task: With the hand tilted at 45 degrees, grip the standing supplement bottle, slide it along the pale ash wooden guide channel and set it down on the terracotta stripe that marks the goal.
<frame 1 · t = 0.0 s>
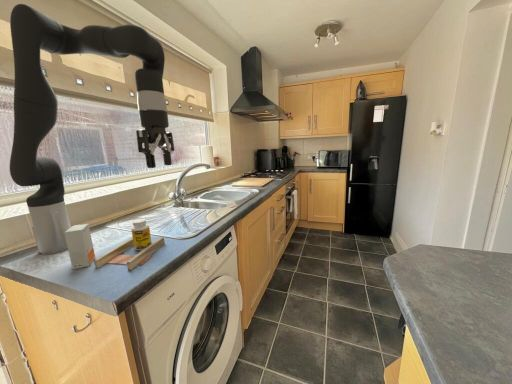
hand: (160, 166, 63), 29 cm above the countertop, tool pointing down, fingers open, 8 cm apart
supplement bottle: (143, 247, 75), on the countertop
skincare box: (85, 263, 66), on the countertop
guide channel: (133, 254, 70), on the countertop
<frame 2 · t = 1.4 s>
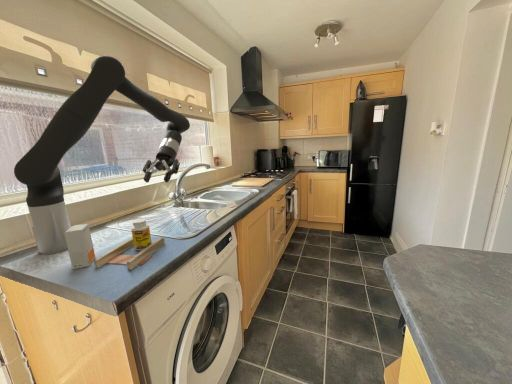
hand: (155, 181, 82), 22 cm above the countertop, tool tilted 45°, fingers open, 8 cm apart
nothing on the countertop moved.
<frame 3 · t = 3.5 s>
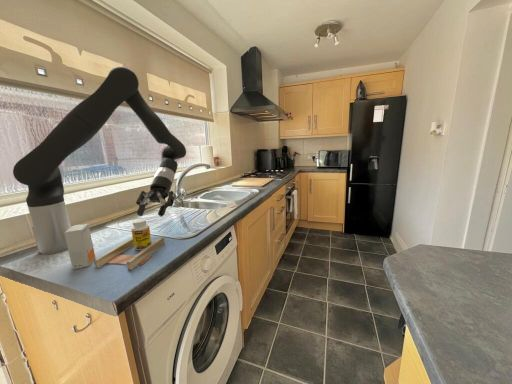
hand: (149, 215, 78), 10 cm above the countertop, tool tilted 45°, fingers open, 8 cm apart
nothing on the countertop moved.
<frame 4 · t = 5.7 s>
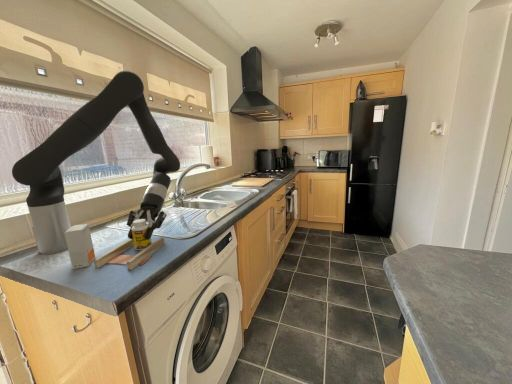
hand: (138, 238, 72), 4 cm above the countertop, tool tilted 45°, fingers closed on supplement bottle, 5 cm apart
supplement bottle: (143, 247, 75), on the countertop, touching gripper
everything else where it was.
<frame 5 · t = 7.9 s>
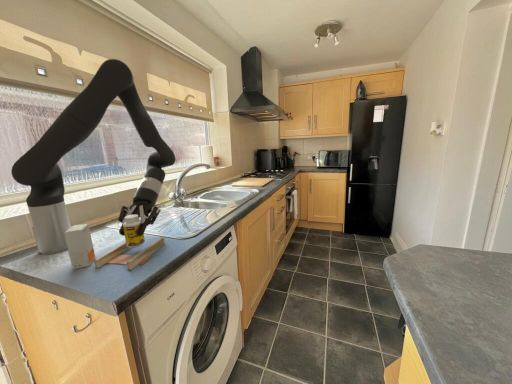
hand: (130, 234, 69), 7 cm above the countertop, tool tilted 45°, fingers closed on supplement bottle, 5 cm apart
supplement bottle: (136, 244, 71), point 3 cm above the countertop, touching gripper
everything else where it was.
when the fingers open (6 cm above the countertop, at t = 10.0 s): supplement bottle drops 1 cm, resting on guide channel.
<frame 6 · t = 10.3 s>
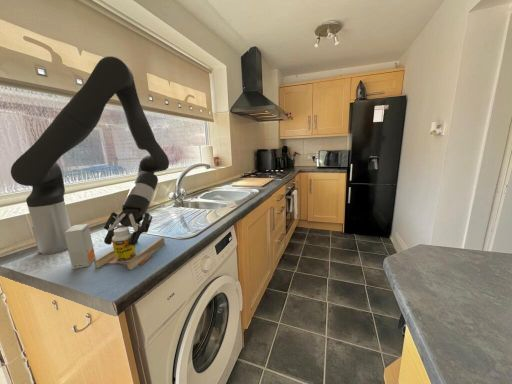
hand: (119, 244, 64), 6 cm above the countertop, tool tilted 45°, fingers open, 8 cm apart
supplement bottle: (126, 259, 67), resting on guide channel
everything else where it was.
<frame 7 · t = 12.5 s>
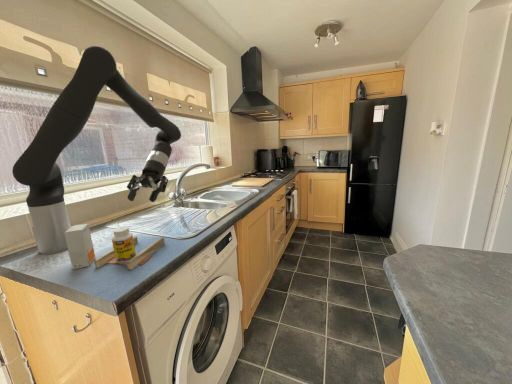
hand: (140, 200, 75), 17 cm above the countertop, tool tilted 45°, fingers open, 8 cm apart
nothing on the countertop moved.
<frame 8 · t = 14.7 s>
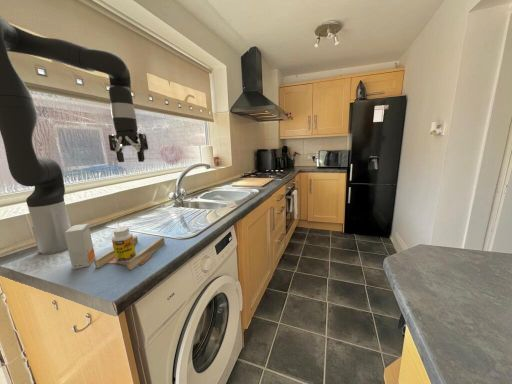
hand: (131, 161, 80), 30 cm above the countertop, tool pointing down, fingers open, 8 cm apart
nothing on the countertop moved.
at the end: supplement bottle 0.2 cm from the target spot, resting on guide channel; supplement bottle tilted 0°; the gripper is holding nothing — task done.
